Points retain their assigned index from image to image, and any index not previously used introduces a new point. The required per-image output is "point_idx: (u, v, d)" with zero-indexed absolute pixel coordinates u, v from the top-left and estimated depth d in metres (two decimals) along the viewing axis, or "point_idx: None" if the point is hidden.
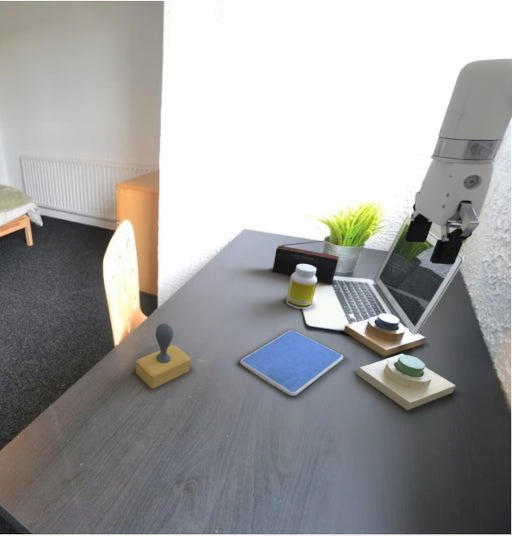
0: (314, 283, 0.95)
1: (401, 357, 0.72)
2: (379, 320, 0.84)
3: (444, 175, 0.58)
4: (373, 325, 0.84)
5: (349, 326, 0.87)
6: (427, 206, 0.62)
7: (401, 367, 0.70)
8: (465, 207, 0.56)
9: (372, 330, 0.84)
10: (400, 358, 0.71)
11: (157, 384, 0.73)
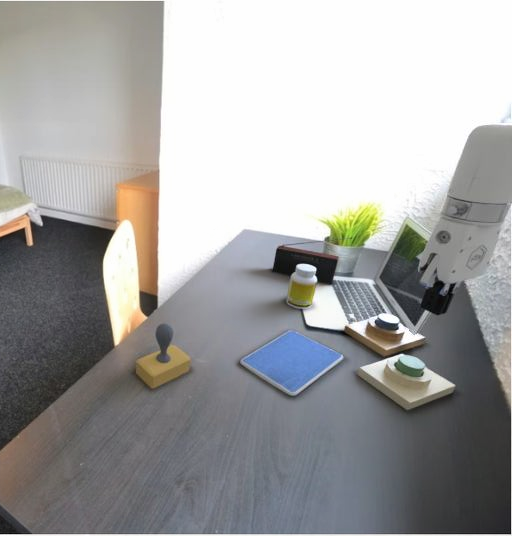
0: (314, 283, 0.95)
1: (401, 357, 0.72)
2: (379, 320, 0.84)
3: None
4: (373, 325, 0.84)
5: (349, 326, 0.87)
6: None
7: (401, 367, 0.70)
8: (429, 266, 0.60)
9: (372, 330, 0.84)
10: (400, 358, 0.71)
11: (157, 384, 0.73)
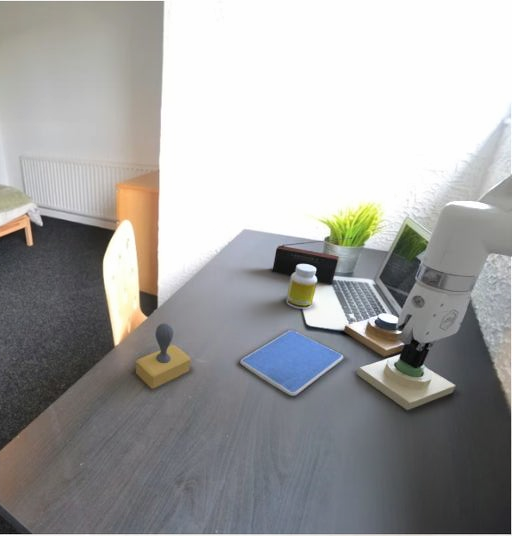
0: (314, 283, 0.95)
1: None
2: (379, 320, 0.84)
3: None
4: (373, 325, 0.84)
5: (349, 326, 0.87)
6: None
7: (401, 369, 0.71)
8: (406, 326, 0.65)
9: (372, 330, 0.84)
10: None
11: (157, 384, 0.73)
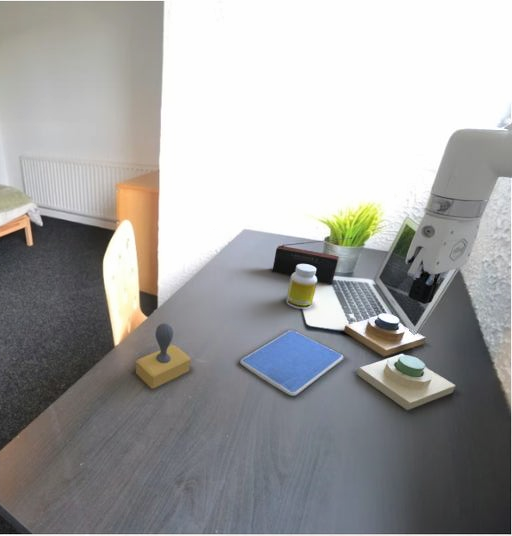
0: (314, 283, 0.95)
1: (401, 357, 0.72)
2: (379, 320, 0.84)
3: None
4: (373, 325, 0.84)
5: (349, 326, 0.87)
6: None
7: (401, 368, 0.70)
8: (416, 258, 0.66)
9: (372, 330, 0.84)
10: (400, 358, 0.71)
11: (157, 384, 0.73)
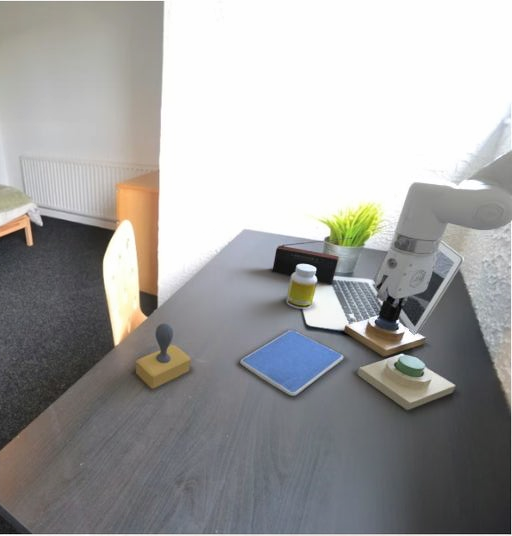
0: (314, 283, 0.95)
1: (401, 357, 0.72)
2: (379, 320, 0.84)
3: None
4: (373, 325, 0.84)
5: (349, 326, 0.87)
6: None
7: (401, 368, 0.70)
8: (383, 285, 0.79)
9: (372, 330, 0.84)
10: (400, 358, 0.71)
11: (157, 384, 0.73)
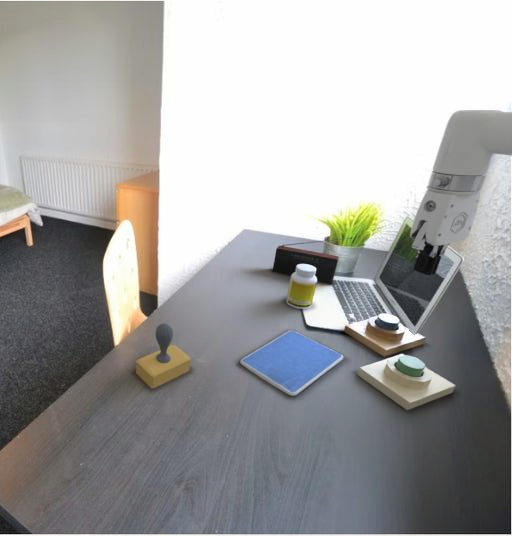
0: (314, 283, 0.95)
1: (401, 357, 0.72)
2: (379, 320, 0.84)
3: None
4: (373, 325, 0.84)
5: (349, 326, 0.87)
6: None
7: (401, 368, 0.70)
8: (419, 232, 0.71)
9: (372, 330, 0.84)
10: (400, 358, 0.71)
11: (157, 384, 0.73)
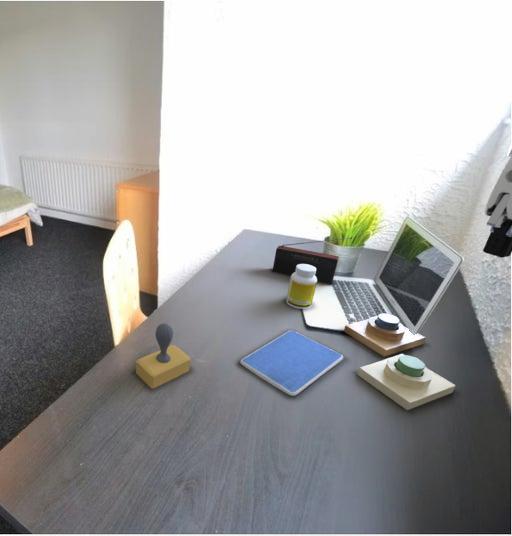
0: (314, 283, 0.95)
1: (401, 357, 0.72)
2: (379, 320, 0.84)
3: None
4: (373, 325, 0.84)
5: (349, 326, 0.87)
6: None
7: (401, 368, 0.70)
8: (498, 206, 0.62)
9: (372, 330, 0.84)
10: (400, 358, 0.71)
11: (157, 384, 0.73)
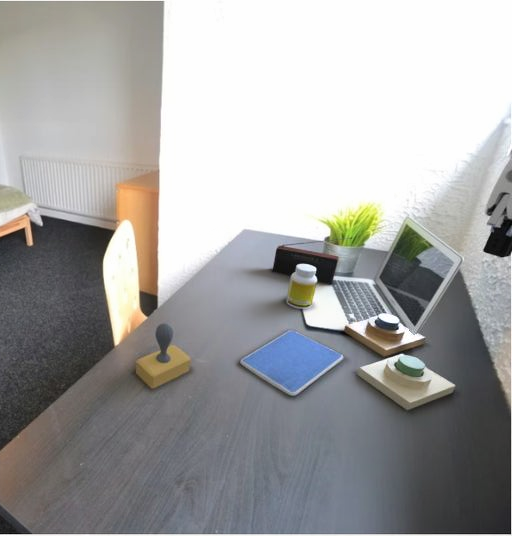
0: (314, 283, 0.95)
1: (401, 357, 0.72)
2: (379, 320, 0.84)
3: None
4: (373, 325, 0.84)
5: (349, 326, 0.87)
6: None
7: (401, 368, 0.70)
8: (498, 206, 0.62)
9: (372, 330, 0.84)
10: (400, 358, 0.71)
11: (157, 384, 0.73)
